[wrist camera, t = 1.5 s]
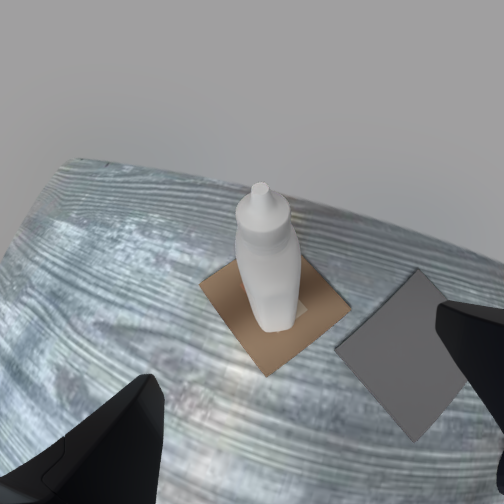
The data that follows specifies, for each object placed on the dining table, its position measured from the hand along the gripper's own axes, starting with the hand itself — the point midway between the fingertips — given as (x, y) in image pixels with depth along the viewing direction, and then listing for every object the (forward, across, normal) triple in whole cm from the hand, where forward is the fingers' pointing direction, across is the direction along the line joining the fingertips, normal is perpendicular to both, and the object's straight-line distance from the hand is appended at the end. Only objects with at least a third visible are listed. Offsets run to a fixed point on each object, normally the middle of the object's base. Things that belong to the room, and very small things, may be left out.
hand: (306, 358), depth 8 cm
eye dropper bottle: (+14, 0, +4) cm, 14 cm away
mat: (+8, -10, +10) cm, 16 cm away
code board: (+14, 0, +4) cm, 14 cm away
